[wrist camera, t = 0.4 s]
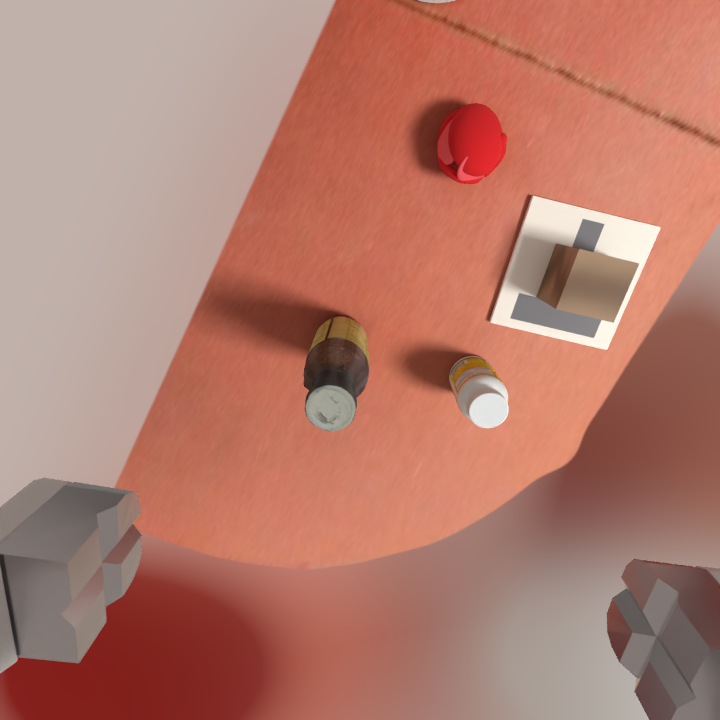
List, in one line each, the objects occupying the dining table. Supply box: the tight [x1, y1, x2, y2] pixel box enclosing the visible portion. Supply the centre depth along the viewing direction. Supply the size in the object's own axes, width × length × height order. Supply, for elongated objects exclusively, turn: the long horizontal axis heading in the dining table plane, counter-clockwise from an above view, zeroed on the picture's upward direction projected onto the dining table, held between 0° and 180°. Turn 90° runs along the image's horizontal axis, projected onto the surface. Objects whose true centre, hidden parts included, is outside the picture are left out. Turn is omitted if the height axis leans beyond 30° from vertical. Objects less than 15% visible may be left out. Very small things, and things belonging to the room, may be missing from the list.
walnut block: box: [536, 243, 639, 323], centre depth 47 cm, size 6×6×6 cm
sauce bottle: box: [304, 316, 369, 431], centre depth 44 cm, size 6×6×20 cm
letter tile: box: [489, 196, 661, 350], centre depth 50 cm, size 14×14×1 cm
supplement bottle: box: [449, 356, 509, 428], centre depth 50 cm, size 5×5×10 cm
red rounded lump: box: [437, 103, 507, 184], centre depth 44 cm, size 8×6×6 cm
